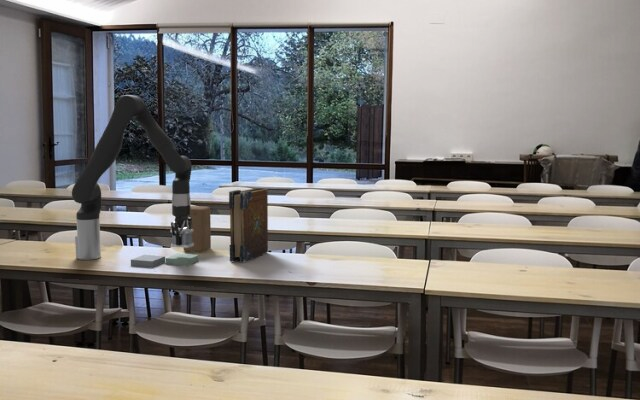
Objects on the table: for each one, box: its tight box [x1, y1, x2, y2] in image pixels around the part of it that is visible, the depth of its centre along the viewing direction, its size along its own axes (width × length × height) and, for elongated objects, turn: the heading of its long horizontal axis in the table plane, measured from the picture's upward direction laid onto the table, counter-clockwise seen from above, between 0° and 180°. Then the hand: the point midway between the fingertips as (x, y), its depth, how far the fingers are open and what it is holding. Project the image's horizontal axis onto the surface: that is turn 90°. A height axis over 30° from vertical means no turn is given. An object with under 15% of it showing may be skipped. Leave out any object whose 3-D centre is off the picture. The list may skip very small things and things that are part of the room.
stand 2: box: [165, 253, 200, 267], centre depth 253 cm, size 10×10×2 cm
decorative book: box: [228, 187, 269, 264], centre depth 263 cm, size 23×7×30 cm, turn 157°
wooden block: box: [183, 205, 212, 253], centre depth 278 cm, size 10×10×20 cm
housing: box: [169, 228, 194, 249], centre depth 252 cm, size 8×5×7 cm, turn 74°
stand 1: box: [130, 254, 166, 268], centre depth 250 cm, size 10×10×2 cm
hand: (182, 243), depth 252 cm, fingers closed on housing, 5 cm apart
